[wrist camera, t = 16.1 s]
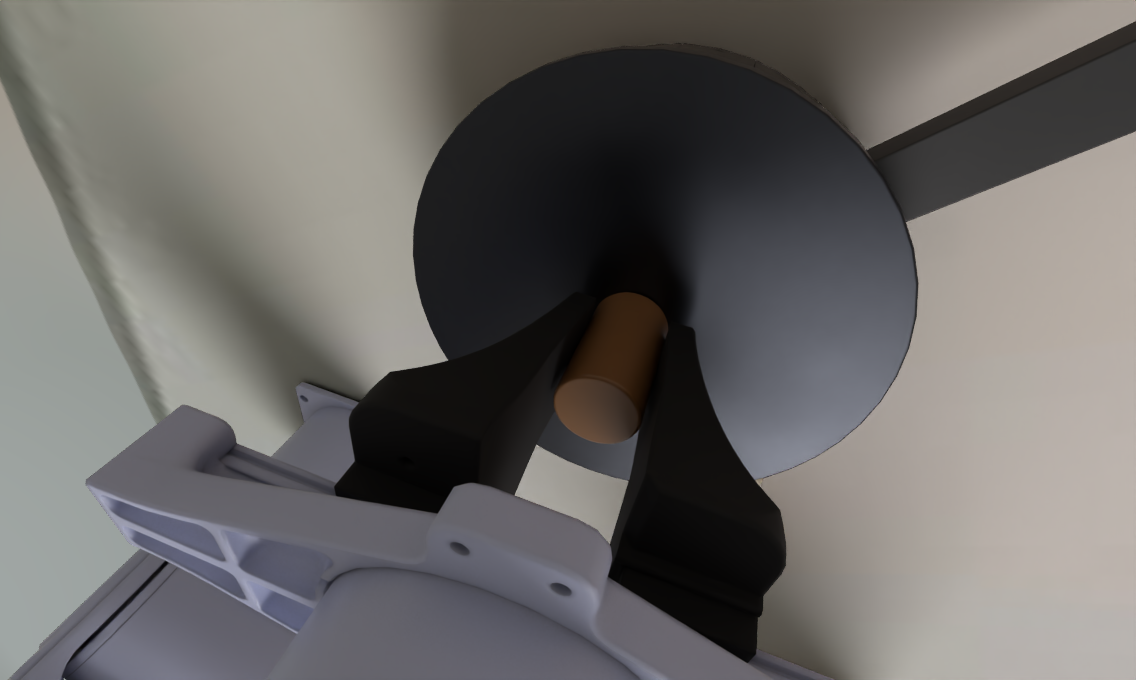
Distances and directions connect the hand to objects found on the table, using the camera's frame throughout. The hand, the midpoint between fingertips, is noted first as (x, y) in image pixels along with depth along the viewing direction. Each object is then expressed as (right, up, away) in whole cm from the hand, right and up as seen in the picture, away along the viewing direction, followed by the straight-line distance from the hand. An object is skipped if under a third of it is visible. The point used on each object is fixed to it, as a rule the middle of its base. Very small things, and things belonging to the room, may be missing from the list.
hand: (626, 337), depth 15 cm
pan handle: (+9, +5, -4) cm, 11 cm away
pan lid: (0, +1, +1) cm, 1 cm away
